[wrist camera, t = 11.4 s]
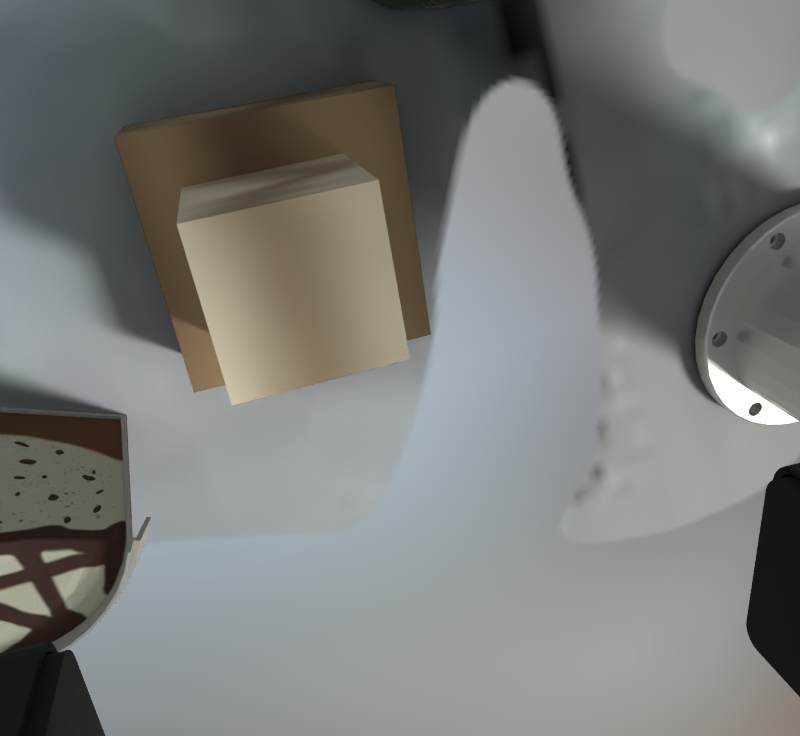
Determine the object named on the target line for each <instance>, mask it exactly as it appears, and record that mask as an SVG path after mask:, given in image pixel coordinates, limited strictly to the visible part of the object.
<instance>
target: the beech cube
mask: <svg viewBox="0 0 800 736" xmlns="http://www.w3.org/2000/svg"><path fill="white" fill-rule="evenodd" d="M177 227H178V231H179V234H180V237H181V240H182V244H183V247H184V250H185V253H186V257H187V260H188V263H189V267H190V270H191V273H192V276H193V280H194V283H195V286H196V290H197V293H198V296H199V299H200V303H201V306H202V309H203V312H204V316H205V319H206V322H207V326H208V329H209V332H210V335H211V339H212V342H213V345H214V348H215V352H216V355H217V358H218V362H219V365H220V368H221V371H222V375H223V378H224V381H225V384H226V388H227V391H228V394H229V398H230V401H231V404H232V405H236V404H240V403H244V402H248V401H251V400H255V399H259V398H263V397H267V396H271V395H274V394H278V393H282V392H286V391H290V390H294V389H297V388H301V387H305V386H309V385H313V384H317V383H320V382H324V381H328V380H332V379H336V378H340V377H344V376H347V375H351V374H355V373H359V372H363V371H367V370H370V369H374V368H378V367H382V366H386V365H390V364H393V363H397V362H401V361H405V360H409V359H410V356H409V350H408V344H407V339H406V333H405V327H404V321H403V316H402V310H401V304H400V299H399V293H398V287H397V282H396V276H395V270H394V264H393V259H392V253H391V247H390V242H389V236H388V230H387V225H386V219H385V213H384V207H383V202H382V196H381V190H380V185H379V180H378V179H377V178H376V177H374V176H373V175H372V174H370V173H369V172H368V171H366V170H365V169H364V168H362V167H361V166H360V165H358V164H357V163H356V162H354V161H353V160H352V159H350V158H349V157H348V156H346V155H345V154H344V153H343V154H338V155H333V156H328V157H324V158H319V159H314V160H310V161H305V162H300V163H296V164H291V165H286V166H281V167H277V168H272V169H267V170H263V171H258V172H253V173H248V174H244V175H239V176H234V177H230V178H225V179H220V180H216V181H211V182H206V183H201V184H197V185H192V186H187V187H183V188H181V194H180V202H179V209H178V217H177Z"/></svg>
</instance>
